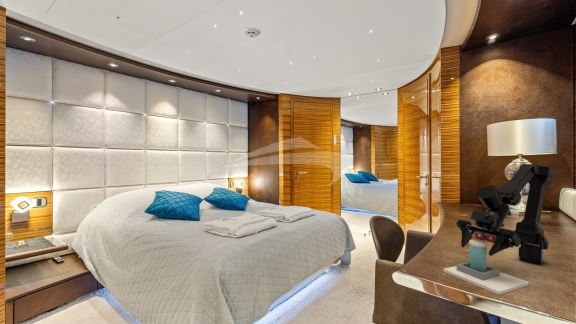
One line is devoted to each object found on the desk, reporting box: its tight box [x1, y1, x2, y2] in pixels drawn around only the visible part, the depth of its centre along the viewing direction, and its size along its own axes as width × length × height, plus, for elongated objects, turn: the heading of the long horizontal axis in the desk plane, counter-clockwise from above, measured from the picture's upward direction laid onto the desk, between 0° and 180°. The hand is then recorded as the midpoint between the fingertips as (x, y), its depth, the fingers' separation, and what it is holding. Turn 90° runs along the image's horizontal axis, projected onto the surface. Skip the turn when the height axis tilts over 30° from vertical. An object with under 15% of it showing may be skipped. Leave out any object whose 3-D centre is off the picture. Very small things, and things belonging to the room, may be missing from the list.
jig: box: [443, 260, 530, 296], centre depth 90 cm, size 16×18×3 cm
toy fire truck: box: [474, 220, 502, 243], centre depth 133 cm, size 7×12×10 cm, turn 30°
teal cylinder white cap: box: [468, 239, 487, 273], centre depth 92 cm, size 5×5×11 cm
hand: (475, 250), depth 91 cm, fingers open, 9 cm apart
